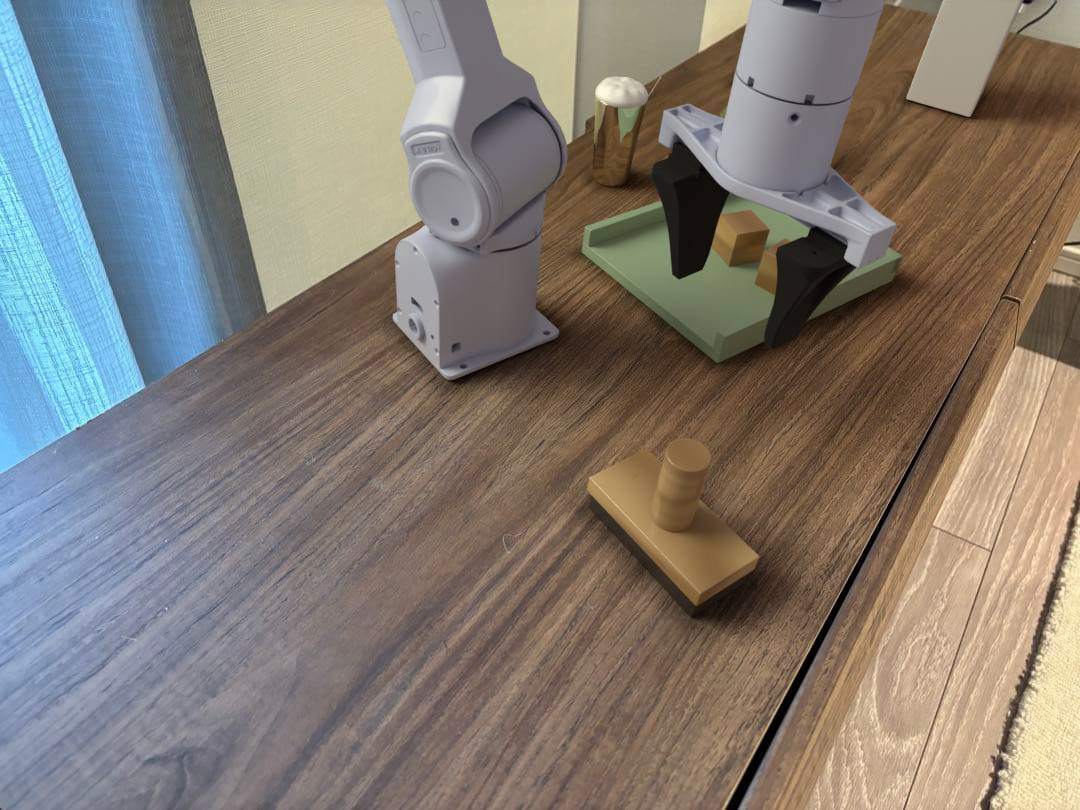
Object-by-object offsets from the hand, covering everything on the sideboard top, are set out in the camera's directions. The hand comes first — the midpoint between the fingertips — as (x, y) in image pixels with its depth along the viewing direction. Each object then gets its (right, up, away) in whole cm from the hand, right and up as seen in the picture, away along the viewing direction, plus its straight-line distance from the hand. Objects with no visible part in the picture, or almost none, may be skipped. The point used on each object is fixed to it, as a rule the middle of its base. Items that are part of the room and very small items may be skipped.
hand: (731, 305), depth 51 cm
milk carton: (+34, +29, +48) cm, 65 cm away
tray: (+5, +5, +20) cm, 21 cm away
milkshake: (-4, +15, +29) cm, 33 cm away
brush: (-4, -14, -1) cm, 15 cm away
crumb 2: (+8, +3, +17) cm, 19 cm away
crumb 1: (+5, +6, +20) cm, 21 cm away
